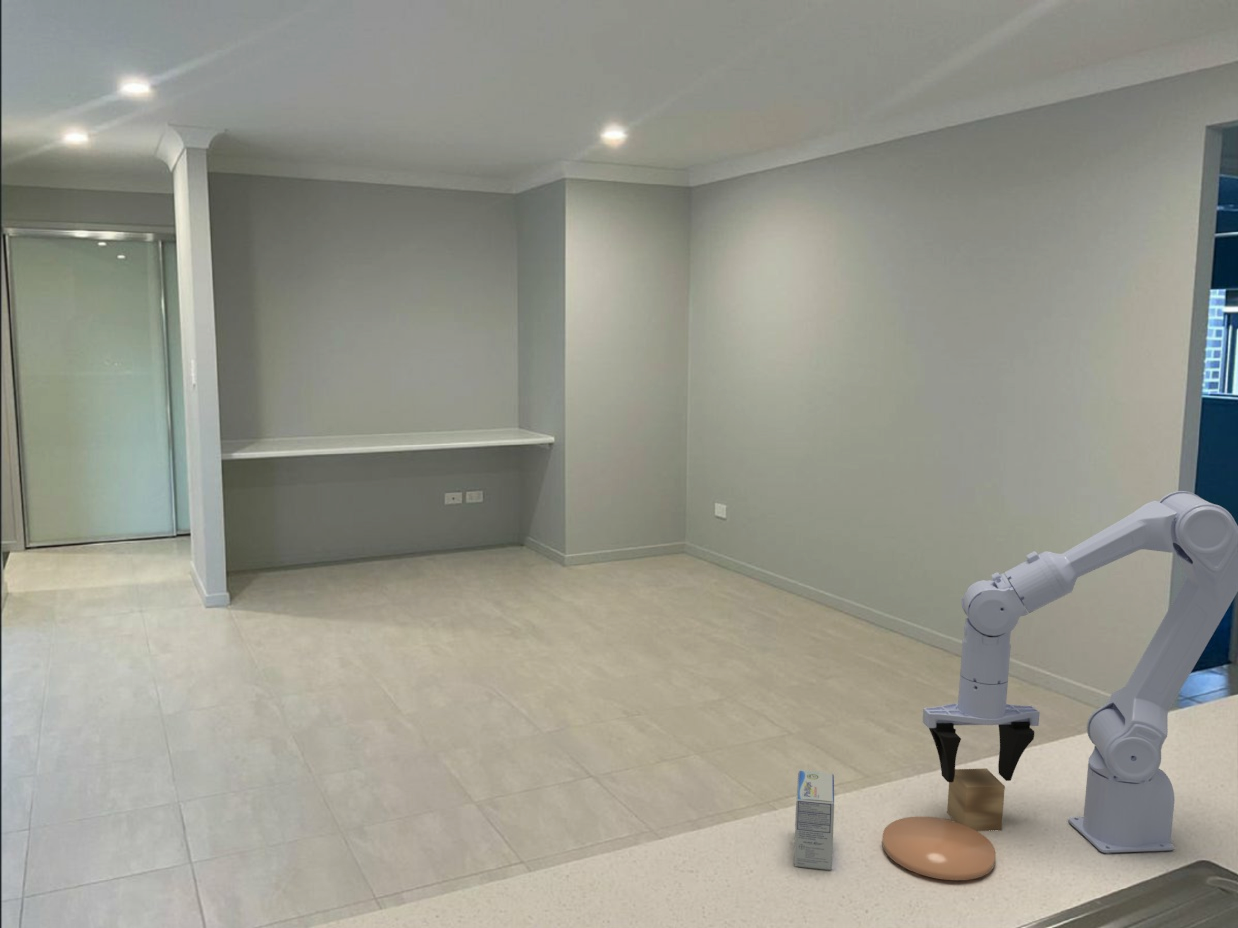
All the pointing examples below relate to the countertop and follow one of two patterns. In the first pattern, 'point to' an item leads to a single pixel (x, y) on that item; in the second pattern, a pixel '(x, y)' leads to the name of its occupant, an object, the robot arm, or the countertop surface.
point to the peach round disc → (939, 848)
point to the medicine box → (814, 820)
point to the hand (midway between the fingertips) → (976, 777)
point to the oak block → (976, 799)
